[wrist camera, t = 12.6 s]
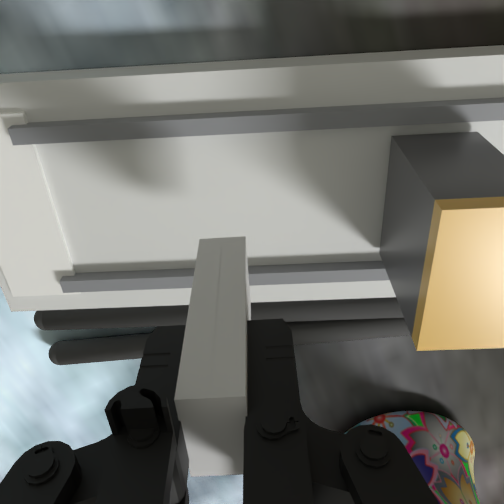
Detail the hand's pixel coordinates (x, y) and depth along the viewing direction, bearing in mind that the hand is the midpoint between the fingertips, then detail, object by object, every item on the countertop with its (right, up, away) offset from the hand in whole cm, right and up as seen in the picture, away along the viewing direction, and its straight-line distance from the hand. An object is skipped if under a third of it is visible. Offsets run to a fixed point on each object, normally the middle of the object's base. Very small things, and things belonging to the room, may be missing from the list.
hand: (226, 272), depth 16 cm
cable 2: (+2, -3, +8) cm, 9 cm away
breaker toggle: (+7, +3, +2) cm, 8 cm away
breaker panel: (+3, +3, +4) cm, 6 cm away
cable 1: (+3, -2, +7) cm, 8 cm away
